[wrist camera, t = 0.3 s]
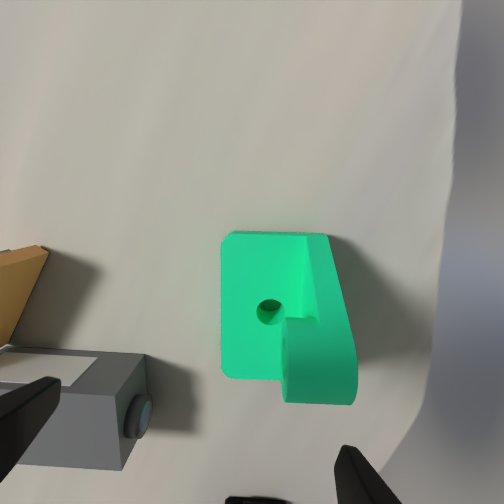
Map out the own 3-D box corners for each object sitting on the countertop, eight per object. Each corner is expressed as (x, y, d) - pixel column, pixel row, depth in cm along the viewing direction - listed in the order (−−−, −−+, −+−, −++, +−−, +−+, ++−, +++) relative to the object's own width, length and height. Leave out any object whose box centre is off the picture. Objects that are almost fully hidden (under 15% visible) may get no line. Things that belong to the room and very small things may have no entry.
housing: (160, 418, 25) (134, 476, 20) (18, 409, 26) (-43, 464, 20) (157, 354, 24) (128, 399, 19) (6, 345, 24) (-64, 387, 19)
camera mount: (225, 228, 21) (193, 261, 11) (319, 231, 21) (373, 266, 11) (225, 358, 24) (199, 478, 14) (308, 361, 24) (344, 486, 14)
